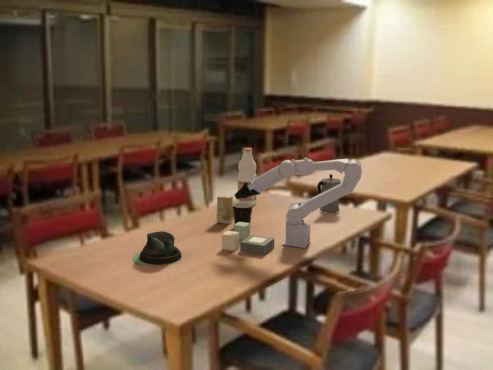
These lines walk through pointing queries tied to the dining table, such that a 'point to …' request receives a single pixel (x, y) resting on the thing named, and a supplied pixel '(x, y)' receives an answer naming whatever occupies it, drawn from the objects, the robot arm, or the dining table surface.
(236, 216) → the coffee mug
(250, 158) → the fruit juice
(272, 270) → the dining table surface
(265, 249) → the charcoal base block
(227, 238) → the cream block
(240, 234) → the sage green block
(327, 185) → the coffeepot
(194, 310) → the dining table surface
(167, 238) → the dark fedora hat
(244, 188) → the robot arm
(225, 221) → the skincare box
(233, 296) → the dining table surface
